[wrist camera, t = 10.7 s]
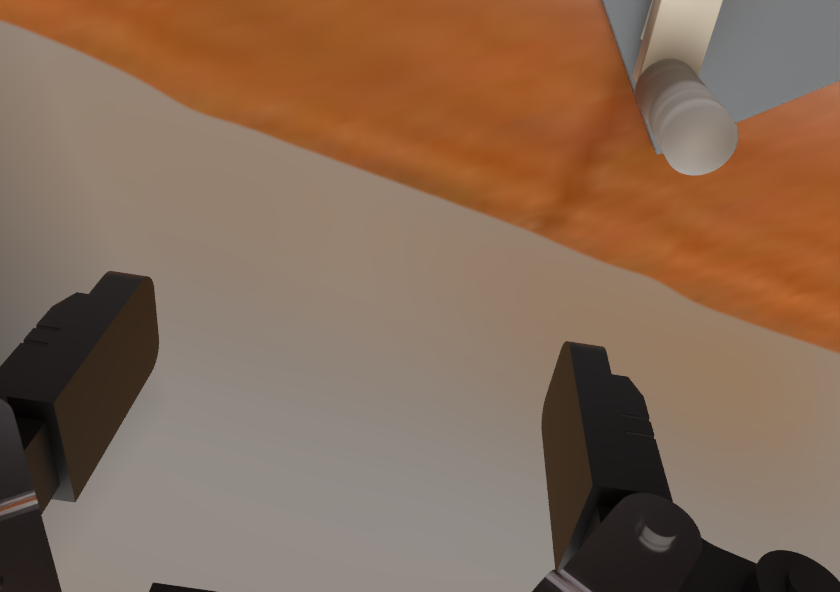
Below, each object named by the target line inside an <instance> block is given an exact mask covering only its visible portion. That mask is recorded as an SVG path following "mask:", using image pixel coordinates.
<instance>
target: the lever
mask: <svg viewBox="0 0 840 592" xmlns="http://www.w3.org/2000/svg"><path fill="white" fill-rule="evenodd" d="M722 1H723V0H653V3H652V7H651V10H650V14H649V18H648V21H647V25H646V29H645V32H644V36H643V40H642V43H641V47H640V51H639V54H638V58H637V62H636V66H635V69H634V73H633V78H634V80H635V82H636V87H635V99H636V102H637V105H638V107H639V108H640V110H641V112H642V114H643V116H644V118H645V120H646V122H647V123H648V125H649V127H650V129H651V131H652V133H653V135H654V137H655V139H656V140H657V142H658V144H659V146H660V148H661V150H662V152H663V154H664V155H665V157H666V159H667V161H668V163H669V164H670V165H671V166H672V167H673V168H674V169H675V170H677V171H678V172H680V173H683V174H687V175H702V174H706V173H709V172H712V171H714V170H716V169H718V168H719V167H721V166H722V165H723V164H724V163H726V161H727V160H728V159H729V158H730V157H731V156H732V154H733V152H734V151H735V148H736V146H737V142H738V129H737V126H736V124H735V122H734V120H733V119H732V117H731V116H730V115H729V114H728V113H727V111H726V110H725V109H724V108H723V106H722V105H721V104H720V103H719V102H718V100H717V99H716V98H715V97H714V95H713V94H712V93H711V92H710V90H709V89H708V88H707V87H706V86H705V84H704V83H703V82H702V81H701V79H700V78H699V77H698V75H699V72H700V69H701V66H702V63H703V60H704V57H705V54H706V51H707V48H708V44H709V41H710V38H711V35H712V32H713V29H714V26H715V23H716V20H717V17H718V14H719V11H720V7H721V4H722Z"/></svg>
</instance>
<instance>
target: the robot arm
mask: <svg viewBox="0 0 840 592" xmlns="http://www.w3.org/2000/svg"><path fill="white" fill-rule="evenodd" d="M158 349H159V334H158V324H157V314H156V303H155V293H154V285H153V281H152V279H151V278H150V277H147V276H140V275H133V274H127V273H120V272H113V271H109V272H107V273H106V274H105V275H104V276H103V277H102V278H101V279H100V281H99V282H98V283H97V284H96V286H95V287H94V288H93V289H92V291H91V292H90V293H89V294H84V293H75V294H73V295H71V296H70V297H68V298H66V299H65V300H63V301H61V302H59V303H58V304H56V305H54V306H52V307H51V308H50V310H49V311H48V312H47V313H46V314H45V316H44V317H43V318H42V319H41V320H40V321H39V322H38V324H37V327H36V328H33V329H32V331H31V332H30V333H29V334H28V335H27V336H26V337H25V339H24V343H20V344H19V346H18V347H17V348H16V349H15V350H14V351H13V352H12V354H11V355H10V356H9V357H8V358H7V360H6V361H5V362H4V363H3V364H2V365H1V366H0V592H62V591H61V587H60V583H59V579H58V576H57V572H56V568H55V565H54V561H53V557H52V553H51V549H50V546H49V542H48V538H47V535H46V531H45V527H44V523H43V520H42V516H41V515H42V513H43V511H44V510H45V508H46V507H47V505H48V503H49V502H50V500H51V499H55V500H63V501H69V502H76V500H77V499H78V497H79V495H80V494H81V492H82V490H83V488H84V487H85V485H86V483H87V481H88V480H89V478H90V476H91V475H92V473H93V471H94V470H95V468H96V466H97V465H98V463H99V461H100V459H101V458H102V456H103V454H104V453H105V451H106V449H107V447H108V446H109V444H110V442H111V441H112V439H113V437H114V435H115V434H116V432H117V430H118V429H119V427H120V425H121V423H122V421H123V420H124V418H125V417H126V415H127V413H128V411H129V409H130V408H131V406H132V405H133V403H134V401H135V399H136V398H137V396H138V394H139V393H140V391H141V389H142V387H143V386H144V384H145V382H146V381H147V379H148V377H149V376H150V374H151V372H152V370H153V368H154V366H155V363H156V359H157V355H158ZM542 439H543V448H544V459H545V469H546V478H547V490H548V499H549V510H550V520H551V530H552V540H553V550H554V561H555V570H552V571H551V572H549V573H548V574H547V575H546V576H545V577H544V578H543V579H542V581H541V582H540V583H539V584H538V585H537V586H536V588H535V589H534V590H533V591H532V592H840V582H839V581H838V579H837V578H836V577H835V576H834V575H833V574H832V573H830V571H828V570H827V569H826V568H825V567H823V566H822V565H820V564H819V563H817V562H816V561H814V560H812V559H810V558H808V557H807V556H804V555H802V554H799V553H795V552H792V551H785V550H776V551H771V552H769V553H767V554H765V555H764V556H763V557H761V559H760V560H759V562H758V563H757V564H756V563H754V562H752V561H749V560H747V559H744V558H742V557H740V556H737V555H735V554H733V553H730V552H728V551H725V550H723V549H720V548H718V547H716V546H714V545H712V544H710V543H709V542H707V541H706V540H704V539H703V538H701V535H700V531H699V529H698V527H697V525H696V524H695V522H694V521H693V519H692V518H691V517H690V516H689V515H688V514H687V513H686V512H685V511H684V510H683V509H682V508H680V507H679V506H678V505H676V504H675V503H673V501H672V497H671V493H670V490H669V487H668V483H667V479H666V476H665V473H664V468H663V465H662V461H661V458H660V454H659V450H658V447H657V443H656V440H655V439H654V432H653V429H652V425H651V422H649V414H648V411H647V407H646V403H645V400H644V397H643V395H642V394H641V393H640V392H639V391H638V389H637V388H636V386H635V385H634V384H633V383H632V381H631V380H630V379H629V378H628V377H626V376H619V375H613V374H611V370H610V365H609V361H608V357H607V353H606V350H605V348H604V347H600V346H595V345H588V344H581V343H575V342H568V341H566V342H565V343H564V344H563V346H562V348H561V351H560V354H559V357H558V360H557V364H556V367H555V370H554V373H553V376H552V379H551V382H550V385H549V389H548V392H547V395H546V398H545V402H544V406H543V413H542ZM149 592H215V591H208V590H201V589H194V588H187V587H180V586H173V585H166V584H159V583H153V584H152V586H151V588H150V591H149Z"/></svg>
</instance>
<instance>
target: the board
mask: <svg viewBox="0 0 840 592" xmlns="http://www.w3.org/2000/svg"><path fill="white" fill-rule="evenodd" d="M601 1H602V4H603V7H604V10H605V13H606V16H607V18H608V21H609V24H610V27H611V30H612V33H613V35H614V38H615V41H616V44H617V47H618V50H619V52H620V55H621V58H622V61H623V64H624V67H625V69H626V72H627V75H628V78H629V81H630V84H631V86H632V89H633V92H634V95H635V87H636V82H635V80H634V78H633V73H634V69H635V66H636V62H637V58H638V54H639V51H640V47H641V43H642V40H643V36H644V32H645V29H646V25H647V21H648V18H649V14H650V10H651V7H652V3H653V0H601ZM698 77H699V78H700V79H701V81H702V82H703V83H704V84H705V86H706V87H707V88H708V89H709V90H710V92H711V93H712V94H713V95H714V97H715V98H716V99H717V100H718V102H719V103H720V104H721V105H722V106H723V108H724V109H725V110H726V111H727V113H728V114H729V115H730V116H731V117H732V119H733V120H734V122H735V123H737V122H739V121H742V120H744V119H747V118H749V117H752V116H754V115H757V114H759V113H762V112H764V111H766V110H769V109H771V108H774V107H776V106H779V105H781V104H784V103H786V102H788V101H791V100H793V99H796V98H798V97H801V96H803V95H806V94H808V93H811V92H813V91H815V90H818V89H820V88H823V87H825V86H828V85H830V84H833V83H835V82H838V81H840V0H723V1H722V4H721V7H720V11H719V14H718V17H717V20H716V23H715V26H714V29H713V32H712V35H711V38H710V41H709V44H708V48H707V51H706V54H705V57H704V60H703V63H702V66H701V69H700V72H699V75H698ZM639 109H640V108H639ZM640 112H641V110H640ZM641 115H642V117H643V120H644V123H645V126H646V129H647V132H648V134H649V137H650V140H651V143H652V146H653V147H654V149H655V151H656V153H657V155H659V154H661V153H663V152H662V150H661V148H660V146H659V144H658V142H657V140H656V139H655V137H654V135H653V133H652V131H651V129H650V127H649V125H648V123H647V122H646V120H645V118H644V116H643V114H642V112H641Z"/></svg>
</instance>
